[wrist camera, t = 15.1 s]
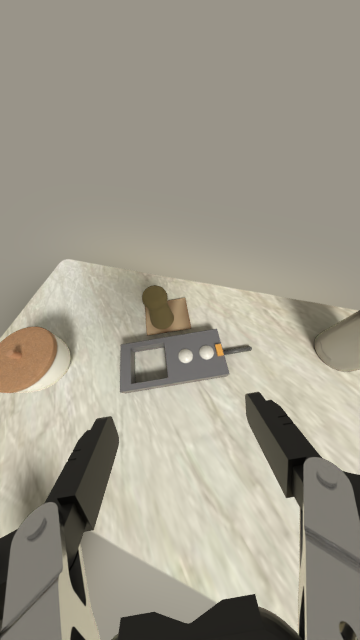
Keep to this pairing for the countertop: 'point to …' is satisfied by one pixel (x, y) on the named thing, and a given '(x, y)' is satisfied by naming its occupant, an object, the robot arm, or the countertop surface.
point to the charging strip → (178, 360)
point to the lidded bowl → (32, 360)
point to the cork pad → (179, 321)
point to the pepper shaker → (158, 307)
